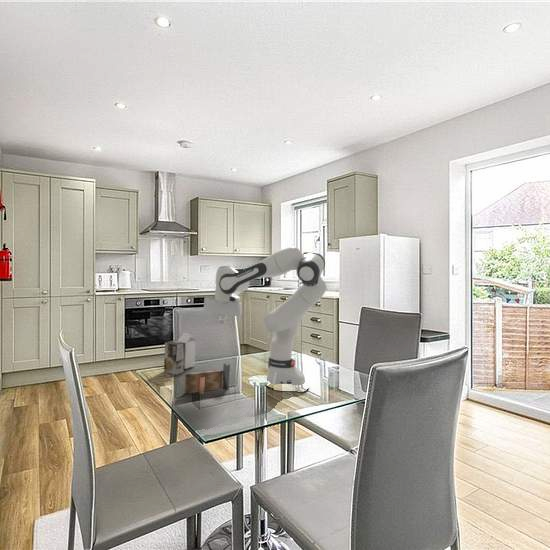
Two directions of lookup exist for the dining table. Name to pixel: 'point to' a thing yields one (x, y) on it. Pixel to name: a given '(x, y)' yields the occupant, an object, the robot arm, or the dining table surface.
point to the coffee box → (174, 357)
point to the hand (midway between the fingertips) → (222, 323)
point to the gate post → (226, 376)
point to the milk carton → (188, 350)
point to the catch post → (202, 385)
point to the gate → (211, 380)
